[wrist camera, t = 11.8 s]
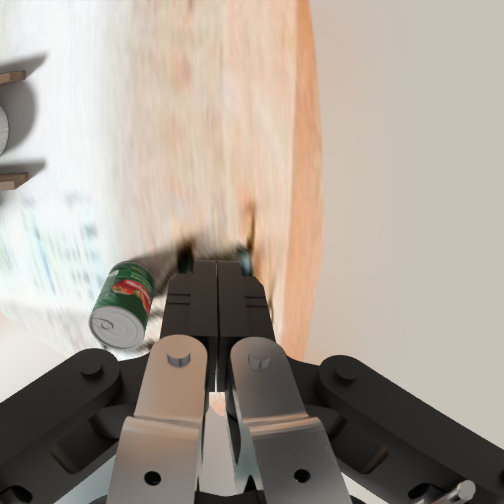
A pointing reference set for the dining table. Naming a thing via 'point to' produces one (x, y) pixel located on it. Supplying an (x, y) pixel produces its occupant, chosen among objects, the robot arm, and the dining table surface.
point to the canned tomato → (123, 306)
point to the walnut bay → (20, 178)
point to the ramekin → (3, 130)
